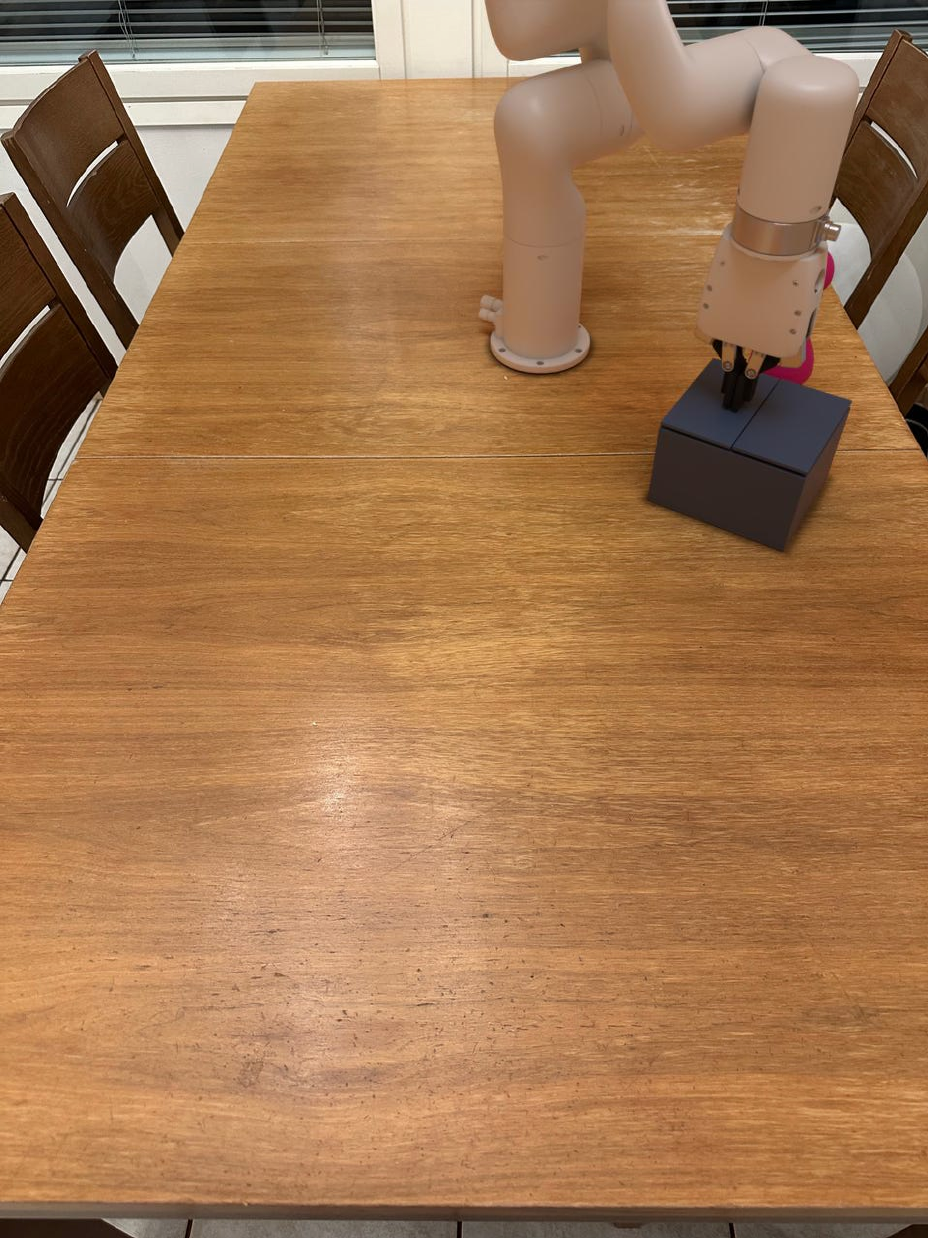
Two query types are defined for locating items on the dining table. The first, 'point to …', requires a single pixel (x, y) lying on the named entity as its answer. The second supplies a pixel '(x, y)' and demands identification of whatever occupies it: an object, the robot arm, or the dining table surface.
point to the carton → (754, 466)
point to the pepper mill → (806, 368)
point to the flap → (715, 408)
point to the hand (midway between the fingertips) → (735, 401)
